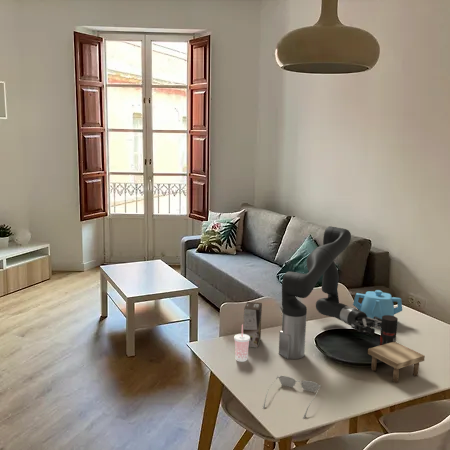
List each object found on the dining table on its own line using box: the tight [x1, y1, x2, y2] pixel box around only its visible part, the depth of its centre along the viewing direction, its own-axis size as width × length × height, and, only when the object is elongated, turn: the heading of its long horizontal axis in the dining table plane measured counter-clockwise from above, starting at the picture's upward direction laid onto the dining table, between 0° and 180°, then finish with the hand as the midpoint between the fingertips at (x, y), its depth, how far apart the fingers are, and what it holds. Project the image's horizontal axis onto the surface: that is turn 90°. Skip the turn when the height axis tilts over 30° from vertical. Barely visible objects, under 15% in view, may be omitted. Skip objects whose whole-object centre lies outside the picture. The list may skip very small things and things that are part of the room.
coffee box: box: [243, 301, 263, 348], centre depth 218 cm, size 9×6×16 cm
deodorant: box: [379, 315, 399, 346], centre depth 210 cm, size 6×6×15 cm
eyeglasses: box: [262, 375, 322, 420], centre depth 174 cm, size 15×18×4 cm
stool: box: [367, 341, 425, 384], centre depth 195 cm, size 14×14×8 cm
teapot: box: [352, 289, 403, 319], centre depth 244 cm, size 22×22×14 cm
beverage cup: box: [233, 323, 250, 363], centre depth 203 cm, size 6×6×14 cm
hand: (381, 330), depth 213 cm, fingers open, 8 cm apart
